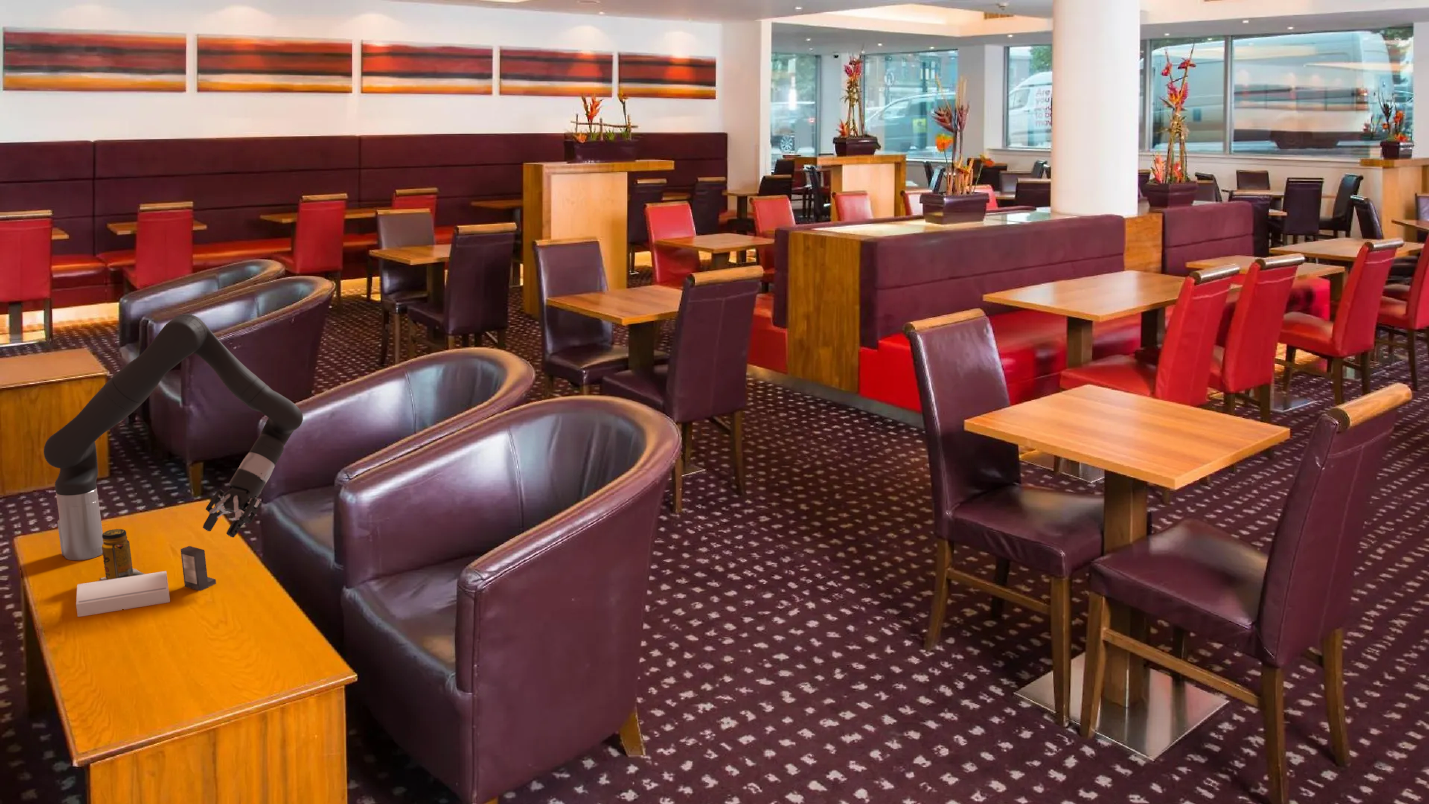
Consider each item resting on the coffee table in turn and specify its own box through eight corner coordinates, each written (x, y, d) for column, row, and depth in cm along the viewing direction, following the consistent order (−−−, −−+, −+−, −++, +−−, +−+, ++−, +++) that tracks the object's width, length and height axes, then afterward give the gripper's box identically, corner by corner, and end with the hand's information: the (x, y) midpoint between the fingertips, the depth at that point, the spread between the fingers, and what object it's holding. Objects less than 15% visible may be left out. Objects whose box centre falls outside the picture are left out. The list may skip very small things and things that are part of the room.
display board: (77, 616, 271) (76, 604, 271) (79, 596, 283) (77, 584, 282) (170, 602, 279) (168, 589, 279) (167, 582, 291) (166, 570, 290)
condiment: (99, 579, 293) (93, 532, 290) (134, 569, 299) (128, 523, 297) (113, 586, 289) (106, 539, 286) (148, 576, 295) (142, 529, 292)
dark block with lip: (184, 586, 288) (179, 549, 286) (201, 579, 293) (197, 542, 290) (199, 591, 286) (195, 553, 283) (217, 584, 290) (213, 546, 288)
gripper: (222, 463, 299) (187, 520, 292) (262, 471, 292) (227, 530, 285) (242, 478, 305) (208, 535, 298) (281, 487, 298) (248, 545, 291)
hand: (217, 532), depth 292 cm, fingers open, 8 cm apart
